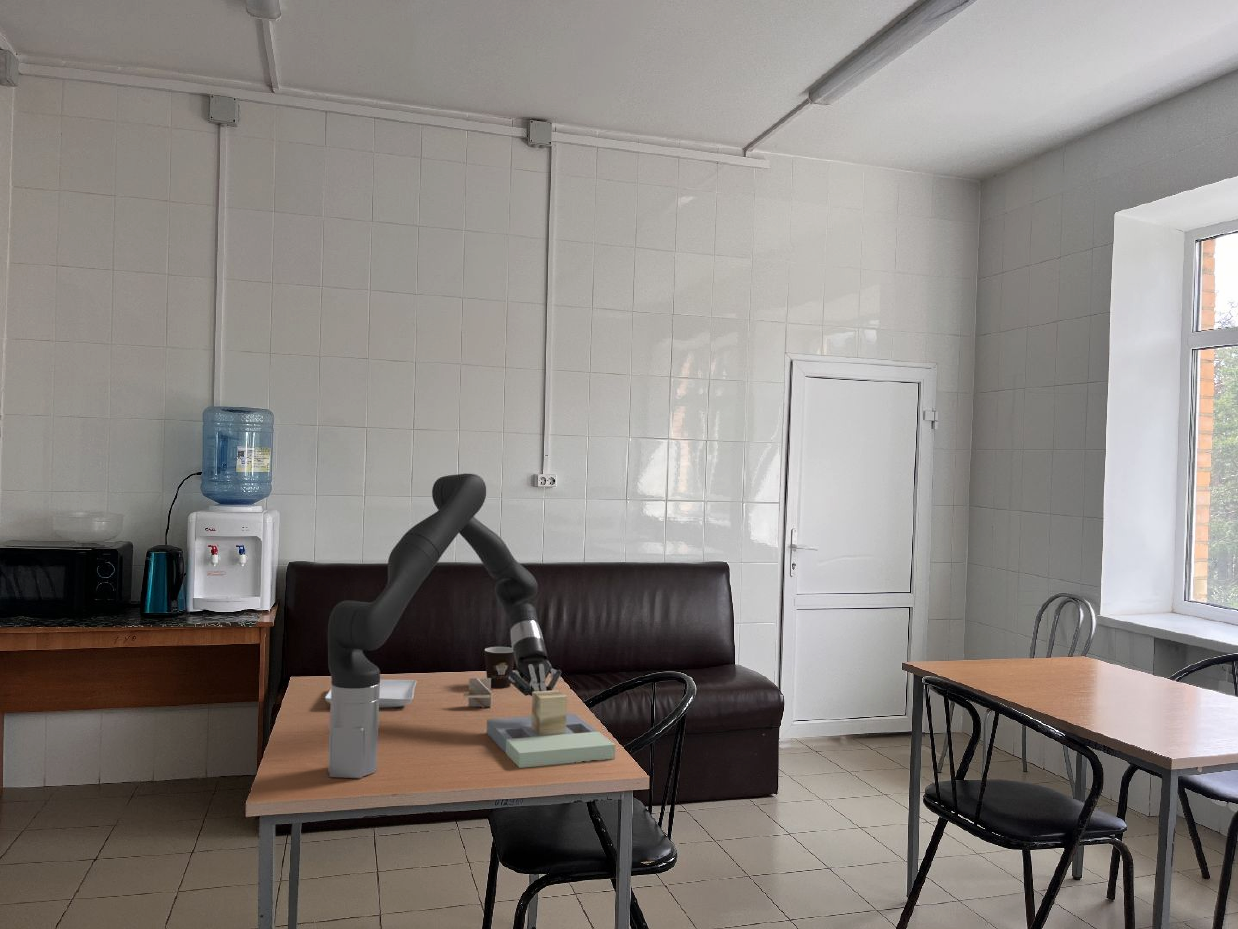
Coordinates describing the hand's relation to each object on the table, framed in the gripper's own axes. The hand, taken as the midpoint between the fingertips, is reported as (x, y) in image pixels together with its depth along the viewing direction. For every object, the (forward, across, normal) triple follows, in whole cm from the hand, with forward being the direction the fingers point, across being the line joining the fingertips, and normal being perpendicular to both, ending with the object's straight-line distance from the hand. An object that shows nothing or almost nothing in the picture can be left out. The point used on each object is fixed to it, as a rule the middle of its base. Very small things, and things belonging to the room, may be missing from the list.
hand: (542, 709), depth 207 cm
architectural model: (-17, -6, +27) cm, 33 cm away
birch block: (+5, 0, 0) cm, 5 cm away
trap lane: (+8, 0, +2) cm, 8 cm away
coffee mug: (-31, +6, +41) cm, 52 cm away
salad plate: (-27, -31, +37) cm, 55 cm away
